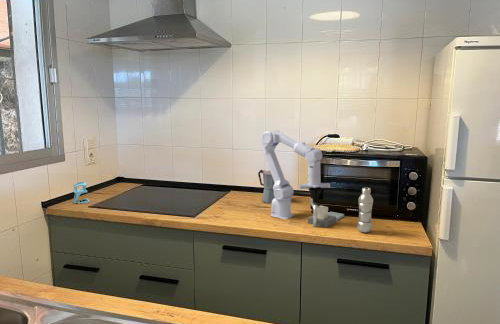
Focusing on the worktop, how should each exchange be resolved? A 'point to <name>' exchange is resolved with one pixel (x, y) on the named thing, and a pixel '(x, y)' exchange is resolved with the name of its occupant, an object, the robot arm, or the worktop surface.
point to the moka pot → (267, 186)
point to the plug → (322, 212)
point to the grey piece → (314, 212)
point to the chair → (79, 192)
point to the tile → (338, 215)
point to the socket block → (323, 221)
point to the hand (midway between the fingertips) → (314, 203)
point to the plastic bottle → (365, 210)
